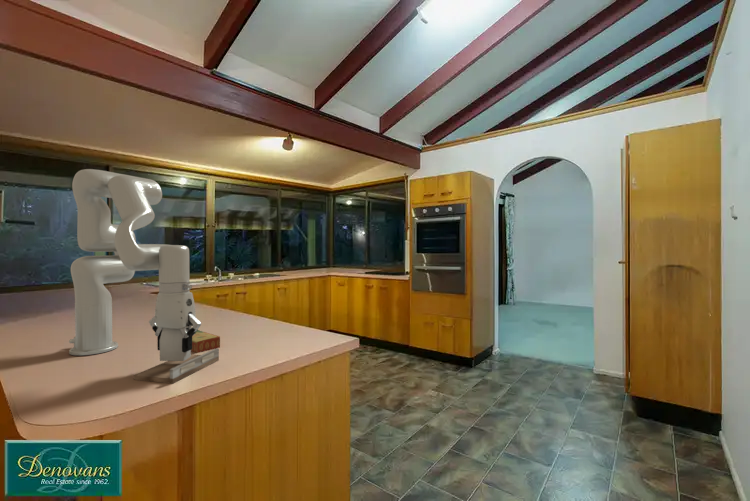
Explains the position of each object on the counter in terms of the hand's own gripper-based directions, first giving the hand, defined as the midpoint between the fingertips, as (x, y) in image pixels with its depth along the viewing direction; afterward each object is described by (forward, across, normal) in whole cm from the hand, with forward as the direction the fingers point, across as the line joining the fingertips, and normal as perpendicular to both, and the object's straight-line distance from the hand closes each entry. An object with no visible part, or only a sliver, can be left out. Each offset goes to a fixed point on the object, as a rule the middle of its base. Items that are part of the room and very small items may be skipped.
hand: (174, 349), depth 97 cm
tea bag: (+3, 0, 0) cm, 3 cm away
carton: (+6, +10, -21) cm, 24 cm away
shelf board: (+6, -2, 0) cm, 6 cm away
